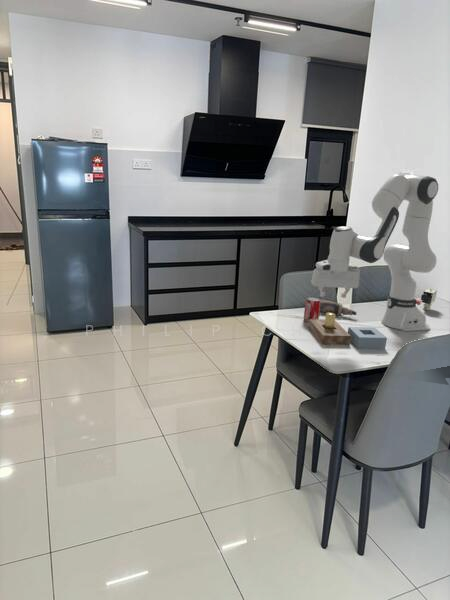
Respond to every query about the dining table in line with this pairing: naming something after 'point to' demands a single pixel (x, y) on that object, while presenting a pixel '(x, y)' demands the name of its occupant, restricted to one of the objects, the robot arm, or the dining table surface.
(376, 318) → the dining table surface
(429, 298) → the pneumatic valve
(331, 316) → the brass pin
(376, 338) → the dock block
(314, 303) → the soda can
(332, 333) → the wooden socket block
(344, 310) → the decorative bottle
